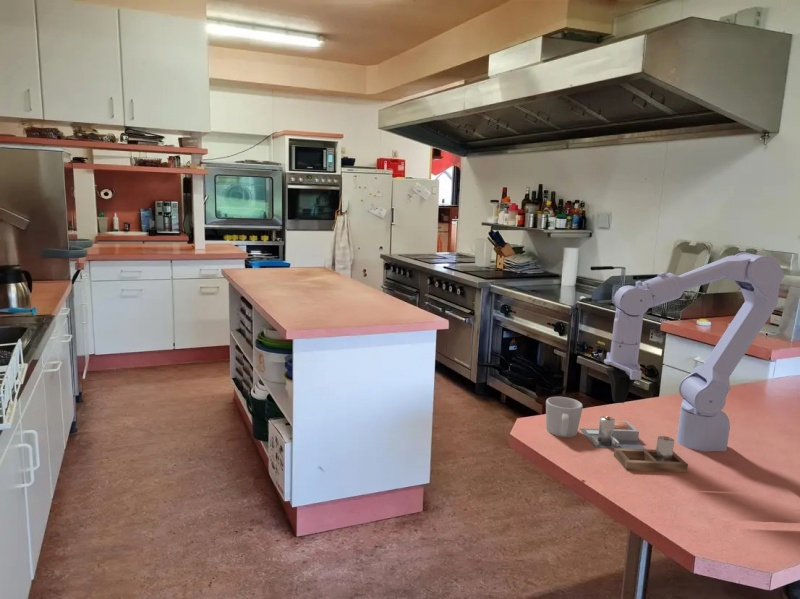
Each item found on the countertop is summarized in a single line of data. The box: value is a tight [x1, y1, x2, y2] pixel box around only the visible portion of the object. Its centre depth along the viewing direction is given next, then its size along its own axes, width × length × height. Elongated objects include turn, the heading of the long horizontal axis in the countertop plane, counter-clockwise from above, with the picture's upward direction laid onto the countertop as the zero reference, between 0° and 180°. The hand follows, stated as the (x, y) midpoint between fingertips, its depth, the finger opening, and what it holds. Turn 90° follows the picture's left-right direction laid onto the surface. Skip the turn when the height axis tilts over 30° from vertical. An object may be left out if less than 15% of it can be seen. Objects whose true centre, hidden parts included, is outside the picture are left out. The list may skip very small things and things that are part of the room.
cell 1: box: [598, 415, 616, 446], centre depth 124 cm, size 3×3×6 cm
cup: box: [545, 396, 584, 438], centre depth 128 cm, size 11×8×8 cm
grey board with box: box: [578, 420, 647, 450], centre depth 127 cm, size 11×10×3 cm
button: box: [614, 420, 629, 430], centre depth 129 cm, size 4×4×2 cm
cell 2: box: [655, 435, 675, 462], centre depth 115 cm, size 3×3×6 cm
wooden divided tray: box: [613, 448, 689, 473], centre depth 115 cm, size 12×6×3 cm, turn 91°
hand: (618, 401), depth 127 cm, fingers closed
